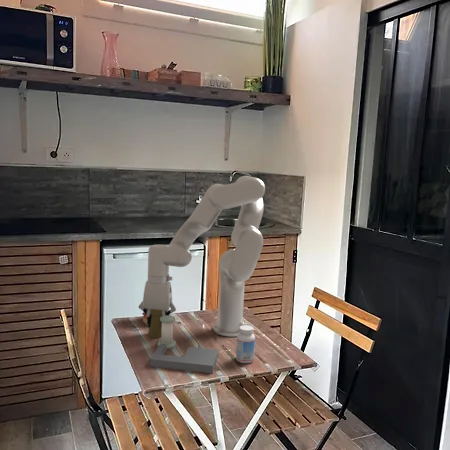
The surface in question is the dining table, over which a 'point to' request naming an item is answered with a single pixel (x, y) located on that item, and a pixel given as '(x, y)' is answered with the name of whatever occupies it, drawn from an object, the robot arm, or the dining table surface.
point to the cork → (155, 324)
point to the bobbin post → (167, 332)
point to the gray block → (186, 359)
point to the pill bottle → (245, 344)
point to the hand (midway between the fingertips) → (156, 326)
